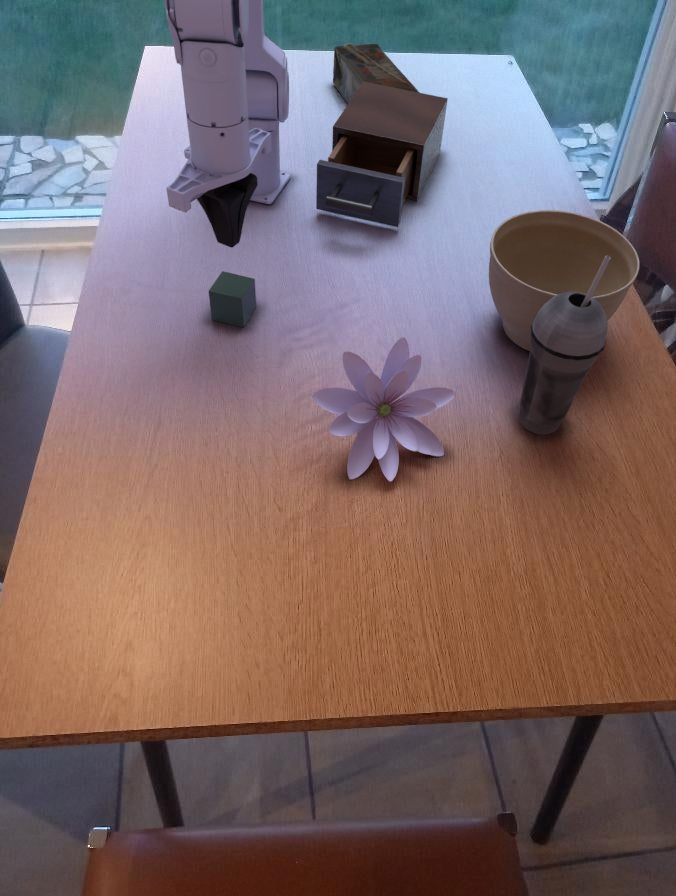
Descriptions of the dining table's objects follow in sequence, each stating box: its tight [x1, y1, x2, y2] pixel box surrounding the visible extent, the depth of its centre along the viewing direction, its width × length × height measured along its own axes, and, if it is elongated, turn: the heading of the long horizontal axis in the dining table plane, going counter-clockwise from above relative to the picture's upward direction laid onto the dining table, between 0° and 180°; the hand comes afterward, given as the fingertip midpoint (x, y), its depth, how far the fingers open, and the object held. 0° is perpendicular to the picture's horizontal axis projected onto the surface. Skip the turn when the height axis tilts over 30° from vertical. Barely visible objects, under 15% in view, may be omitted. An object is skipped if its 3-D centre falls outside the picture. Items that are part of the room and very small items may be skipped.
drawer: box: [315, 134, 418, 228], centre depth 103 cm, size 18×11×6 cm, turn 164°
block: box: [208, 270, 257, 328], centre depth 89 cm, size 4×4×4 cm
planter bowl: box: [488, 209, 640, 352], centre depth 88 cm, size 16×16×11 cm
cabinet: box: [331, 82, 448, 203], centre depth 110 cm, size 15×13×8 cm
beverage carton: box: [332, 42, 421, 105], centre depth 122 cm, size 8×19×7 cm, turn 20°
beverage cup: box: [518, 256, 610, 435], centre depth 75 cm, size 7×7×20 cm
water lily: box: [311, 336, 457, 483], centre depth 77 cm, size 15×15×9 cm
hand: (228, 242), depth 83 cm, fingers closed
